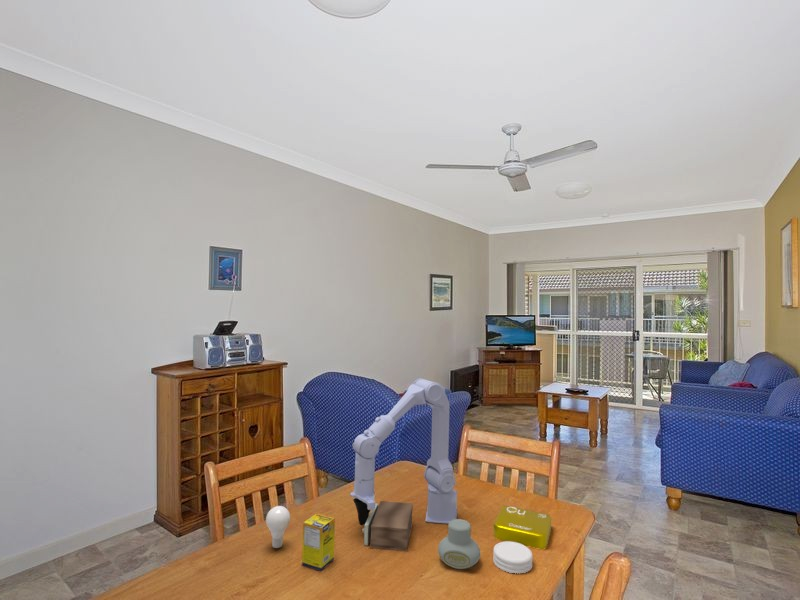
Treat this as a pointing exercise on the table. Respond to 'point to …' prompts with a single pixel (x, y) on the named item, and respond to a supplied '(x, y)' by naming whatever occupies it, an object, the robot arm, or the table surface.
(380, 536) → the walnut cabinet
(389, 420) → the robot arm
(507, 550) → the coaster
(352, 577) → the table surface
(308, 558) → the supplement box
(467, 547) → the air freshener
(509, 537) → the element tile
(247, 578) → the table surface
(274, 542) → the lightbulb
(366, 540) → the cabinet door
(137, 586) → the table surface
